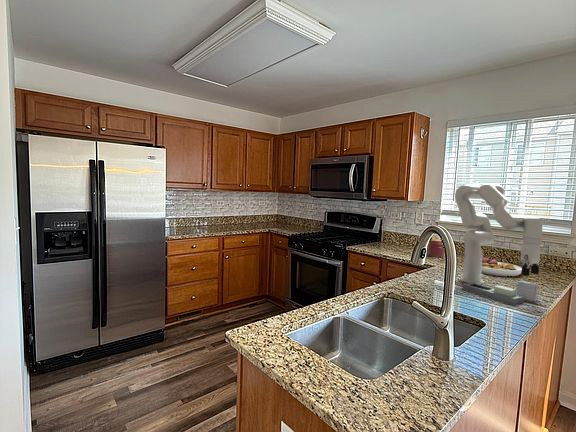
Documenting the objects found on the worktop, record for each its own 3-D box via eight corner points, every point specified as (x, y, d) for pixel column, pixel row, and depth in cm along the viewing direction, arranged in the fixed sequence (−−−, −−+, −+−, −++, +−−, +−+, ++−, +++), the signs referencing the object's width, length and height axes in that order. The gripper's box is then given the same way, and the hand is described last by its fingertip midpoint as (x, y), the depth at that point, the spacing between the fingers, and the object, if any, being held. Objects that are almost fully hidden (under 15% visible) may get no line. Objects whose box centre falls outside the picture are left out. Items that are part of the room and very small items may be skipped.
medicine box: (536, 300, 161) (538, 283, 160) (535, 302, 157) (536, 285, 157) (518, 296, 166) (519, 280, 165) (516, 298, 163) (517, 281, 162)
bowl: (532, 278, 205) (533, 266, 204) (486, 277, 205) (487, 265, 205) (502, 267, 235) (503, 257, 234) (461, 266, 235) (462, 256, 235)
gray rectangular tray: (472, 287, 179) (472, 282, 179) (524, 302, 157) (524, 296, 156) (462, 289, 175) (462, 284, 174) (514, 305, 152) (515, 298, 152)
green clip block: (498, 296, 165) (498, 285, 165) (515, 301, 158) (516, 289, 158) (493, 297, 163) (494, 286, 162) (510, 302, 156) (511, 290, 155)
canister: (435, 258, 262) (437, 237, 261) (424, 255, 274) (425, 235, 273) (447, 257, 267) (448, 236, 265) (435, 254, 279) (436, 234, 278)
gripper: (531, 239, 167) (529, 271, 168) (515, 241, 158) (513, 274, 159) (548, 241, 160) (546, 274, 161) (532, 243, 152) (530, 278, 153)
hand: (530, 274), depth 160 cm, fingers open, 9 cm apart
